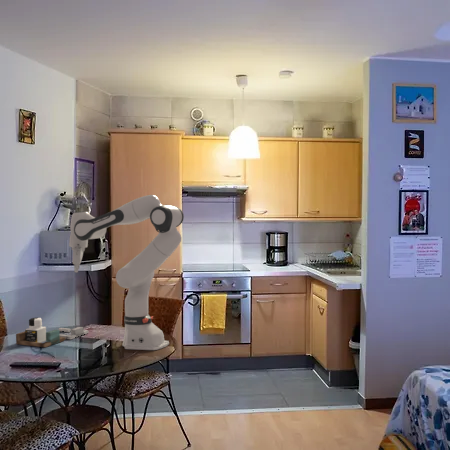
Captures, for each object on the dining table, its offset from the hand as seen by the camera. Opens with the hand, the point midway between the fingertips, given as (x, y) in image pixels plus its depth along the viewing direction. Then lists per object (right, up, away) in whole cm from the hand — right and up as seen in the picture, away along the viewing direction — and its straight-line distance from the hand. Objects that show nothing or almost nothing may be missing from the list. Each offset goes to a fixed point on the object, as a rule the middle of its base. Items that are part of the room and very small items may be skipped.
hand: (76, 270), depth 237 cm
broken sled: (-10, -35, +12) cm, 39 cm away
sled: (-17, -35, -2) cm, 40 cm away
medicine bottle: (-20, -36, -1) cm, 41 cm away
